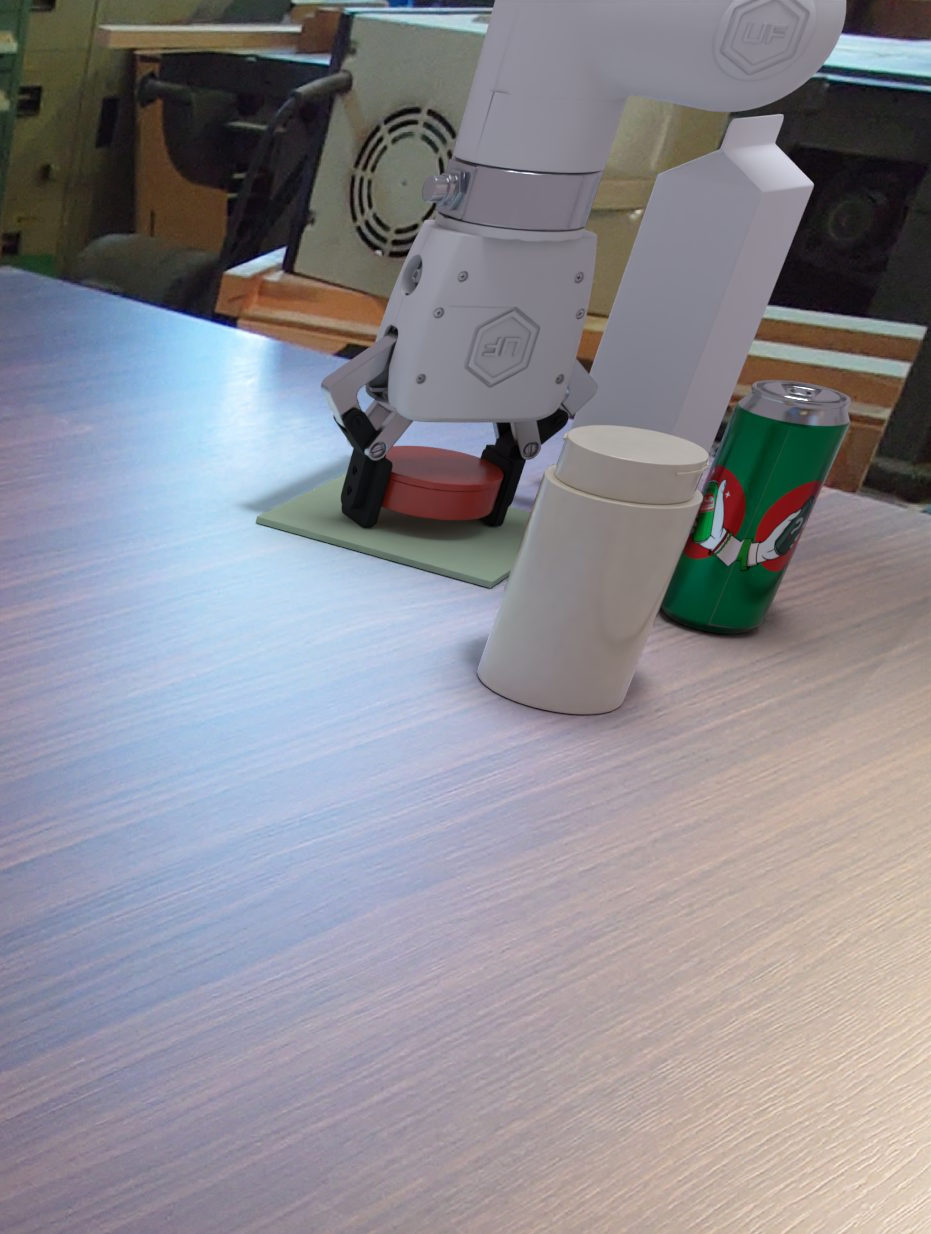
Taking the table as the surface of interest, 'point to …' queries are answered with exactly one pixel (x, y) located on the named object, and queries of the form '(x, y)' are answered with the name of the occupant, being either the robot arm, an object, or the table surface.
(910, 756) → the table surface
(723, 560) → the soda can
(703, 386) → the milk
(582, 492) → the jar
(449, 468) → the lid
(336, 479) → the mat
